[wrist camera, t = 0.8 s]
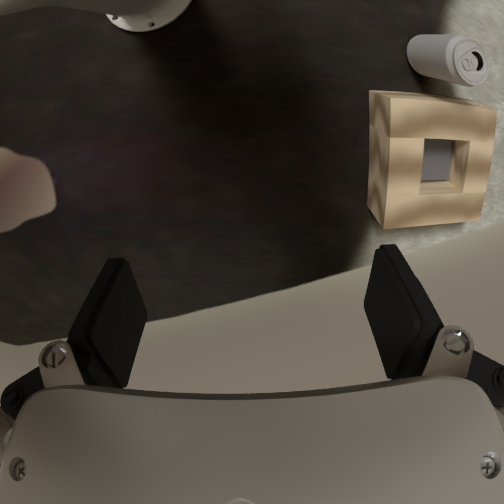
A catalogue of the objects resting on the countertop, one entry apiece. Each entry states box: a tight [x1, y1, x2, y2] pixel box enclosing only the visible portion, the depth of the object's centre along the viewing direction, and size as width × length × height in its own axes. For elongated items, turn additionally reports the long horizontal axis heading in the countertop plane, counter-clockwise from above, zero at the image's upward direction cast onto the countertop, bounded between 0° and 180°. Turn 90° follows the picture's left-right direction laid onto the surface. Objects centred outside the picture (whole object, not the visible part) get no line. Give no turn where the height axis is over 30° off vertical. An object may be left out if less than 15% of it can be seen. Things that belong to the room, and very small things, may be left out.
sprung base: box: [421, 138, 453, 181], centre depth 37 cm, size 7×7×1 cm
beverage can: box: [407, 35, 489, 87], centre depth 26 cm, size 6×6×12 cm
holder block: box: [367, 90, 497, 229], centre depth 37 cm, size 18×18×7 cm
